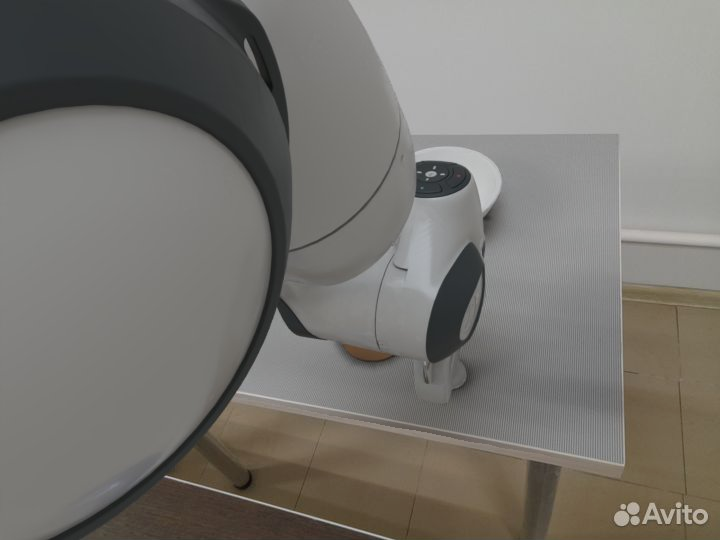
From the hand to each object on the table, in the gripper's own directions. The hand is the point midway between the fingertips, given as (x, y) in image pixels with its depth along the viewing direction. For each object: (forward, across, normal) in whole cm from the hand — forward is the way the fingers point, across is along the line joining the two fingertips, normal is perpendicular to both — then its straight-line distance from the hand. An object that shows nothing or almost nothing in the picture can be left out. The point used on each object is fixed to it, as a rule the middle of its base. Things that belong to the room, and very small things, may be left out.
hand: (452, 352), depth 68 cm
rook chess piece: (+7, 0, +1) cm, 7 cm away
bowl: (+7, +32, +9) cm, 34 cm away
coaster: (+7, +6, +14) cm, 16 cm away
